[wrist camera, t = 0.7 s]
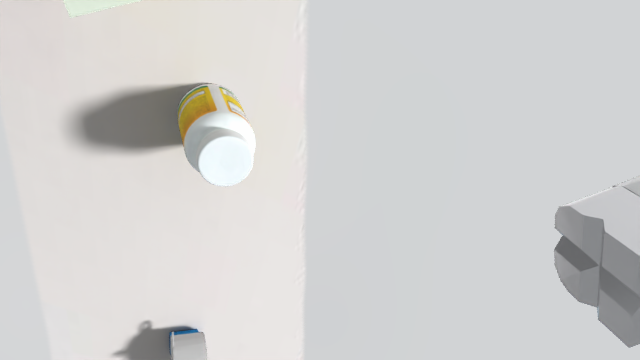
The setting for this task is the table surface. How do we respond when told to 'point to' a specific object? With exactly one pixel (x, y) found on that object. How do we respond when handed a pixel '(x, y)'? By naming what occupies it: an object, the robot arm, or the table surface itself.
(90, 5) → the tower top block
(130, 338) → the table surface
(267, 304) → the table surface
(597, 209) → the robot arm
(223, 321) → the table surface
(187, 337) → the electric motor
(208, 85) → the supplement bottle
